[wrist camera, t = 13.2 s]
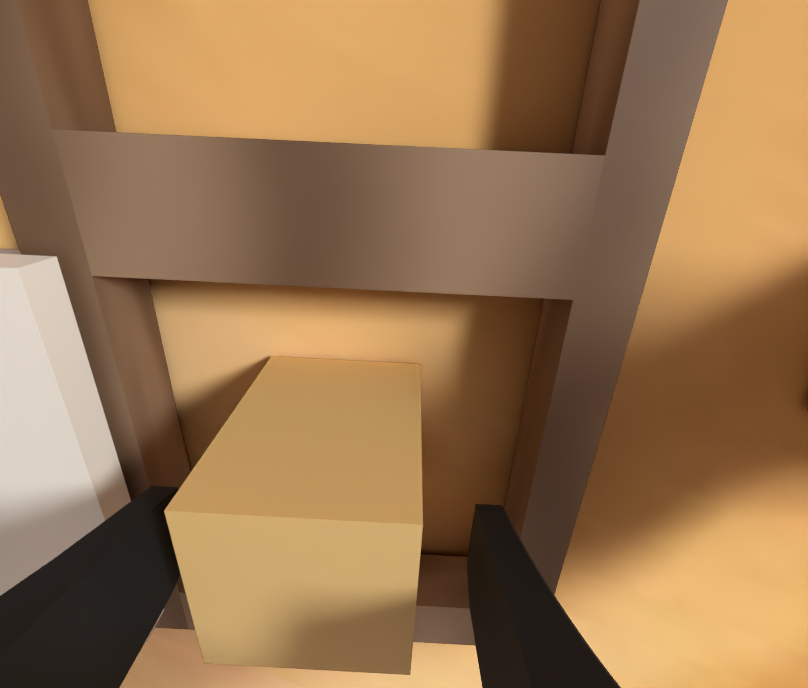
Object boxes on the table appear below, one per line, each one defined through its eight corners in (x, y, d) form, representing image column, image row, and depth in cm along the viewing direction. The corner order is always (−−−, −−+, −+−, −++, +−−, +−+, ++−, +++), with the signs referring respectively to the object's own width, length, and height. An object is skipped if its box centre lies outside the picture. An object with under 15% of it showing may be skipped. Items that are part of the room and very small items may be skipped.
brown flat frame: (953, -1125, 5) (1288, -1921, 3) (525, 595, 17) (538, 648, 15) (-1326, -1186, 5) (-2353, -1970, 3) (-121, 559, 17) (-184, 608, 15)
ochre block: (420, 363, 13) (423, 525, 7) (412, 479, 15) (409, 674, 9) (271, 356, 13) (163, 511, 7) (283, 472, 15) (204, 663, 9)
